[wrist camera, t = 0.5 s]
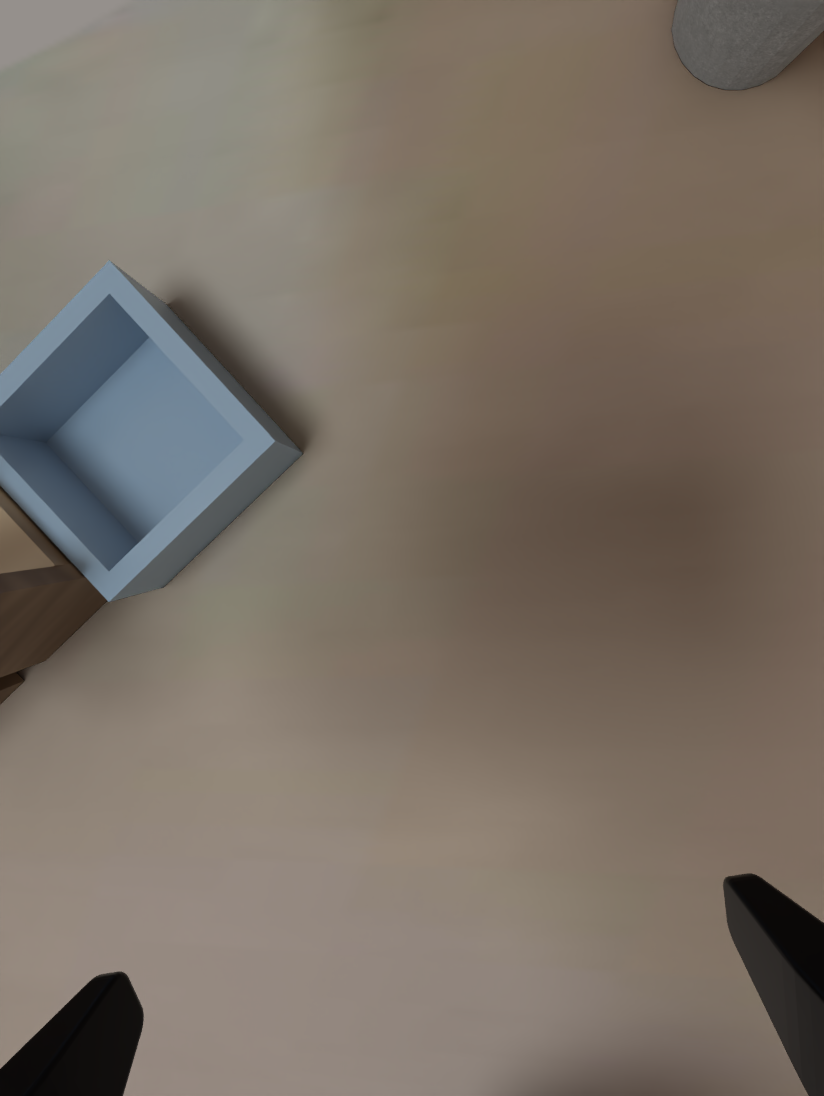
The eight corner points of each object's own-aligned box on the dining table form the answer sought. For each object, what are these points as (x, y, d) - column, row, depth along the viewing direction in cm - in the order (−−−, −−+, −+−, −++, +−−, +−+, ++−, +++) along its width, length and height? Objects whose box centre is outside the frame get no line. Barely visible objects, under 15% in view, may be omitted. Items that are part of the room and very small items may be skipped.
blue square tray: (303, 453, 22) (275, 441, 18) (163, 587, 23) (108, 602, 19) (166, 304, 22) (109, 260, 18) (29, 443, 23) (-53, 429, 19)
